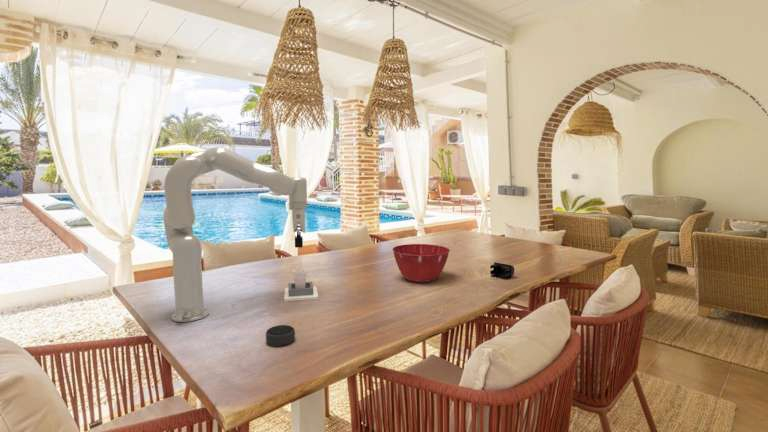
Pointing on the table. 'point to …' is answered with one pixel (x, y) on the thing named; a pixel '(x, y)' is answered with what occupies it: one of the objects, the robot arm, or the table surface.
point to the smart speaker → (280, 335)
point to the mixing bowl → (420, 261)
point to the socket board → (300, 292)
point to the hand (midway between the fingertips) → (298, 245)
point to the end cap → (502, 271)
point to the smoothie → (300, 277)
